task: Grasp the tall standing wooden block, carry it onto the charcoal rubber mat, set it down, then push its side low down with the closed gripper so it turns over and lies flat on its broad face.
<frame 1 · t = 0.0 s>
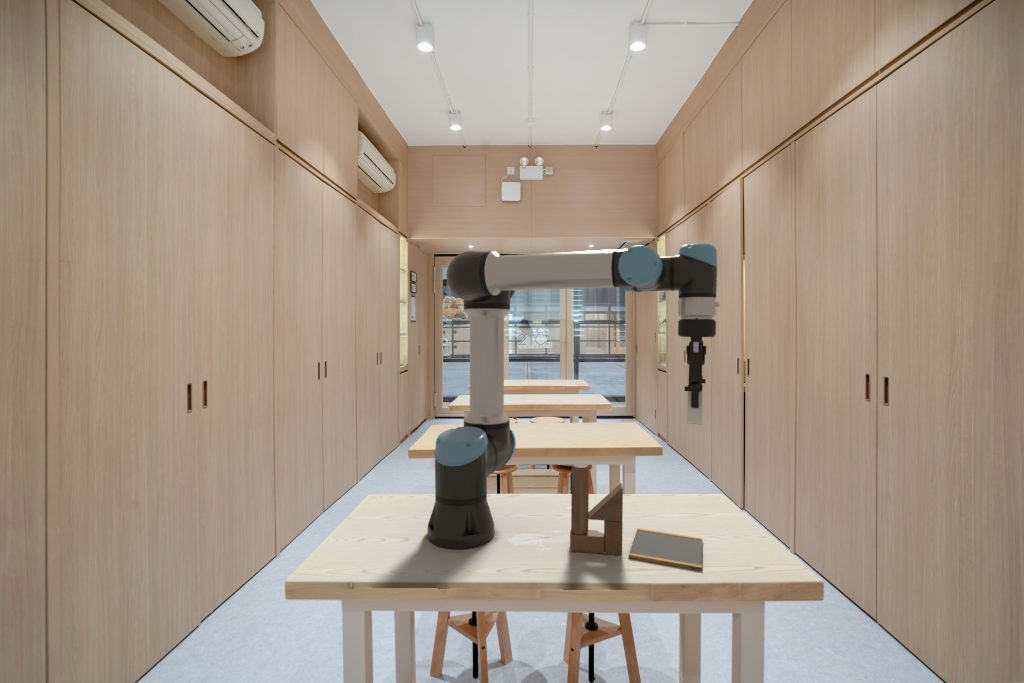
hand: (695, 417, 104), 28 cm above the table, fingers open, 13 cm apart
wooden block: (595, 551, 103), on the table
mat: (666, 549, 104), on the table
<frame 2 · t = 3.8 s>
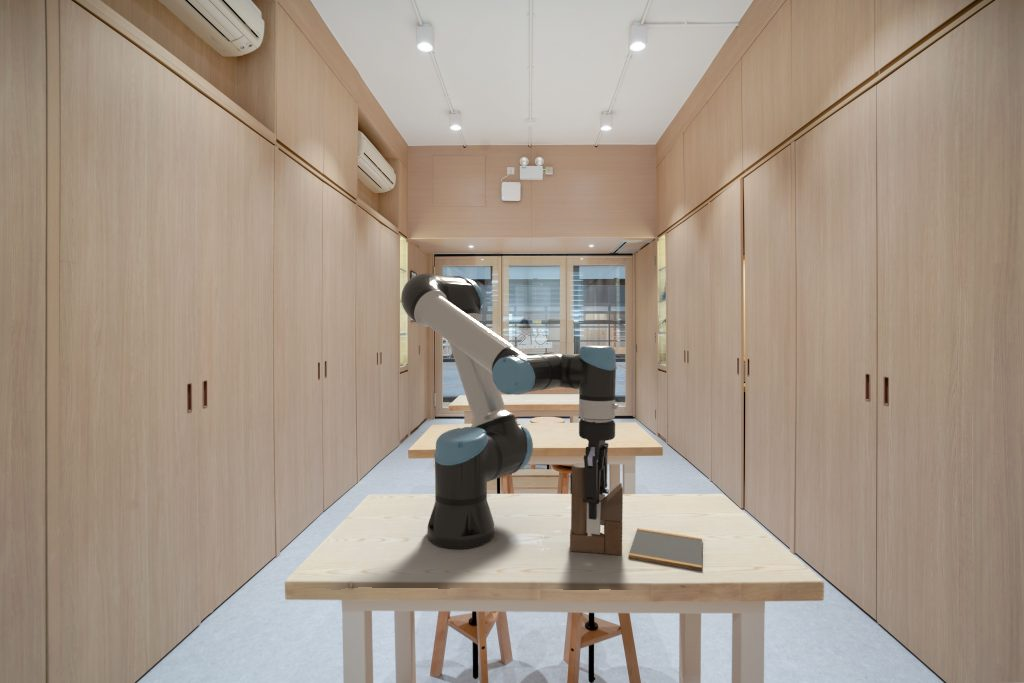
hand: (595, 528, 103), 5 cm above the table, fingers closed on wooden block, 4 cm apart
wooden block: (595, 550, 103), on the table, touching gripper
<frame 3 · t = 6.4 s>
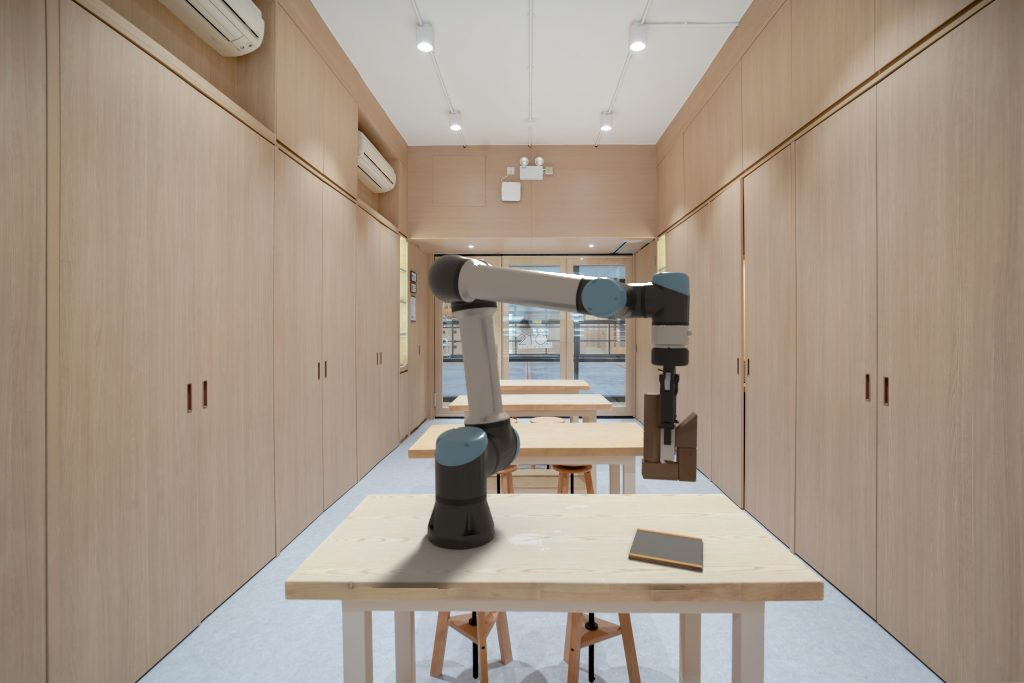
hand: (668, 456, 103), 20 cm above the table, fingers closed on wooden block, 4 cm apart
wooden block: (668, 479, 103), point 15 cm above the table, touching gripper
when the fingers open (6 cm above the table, at t = 9.1 s): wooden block stays where it is, resting on mat.
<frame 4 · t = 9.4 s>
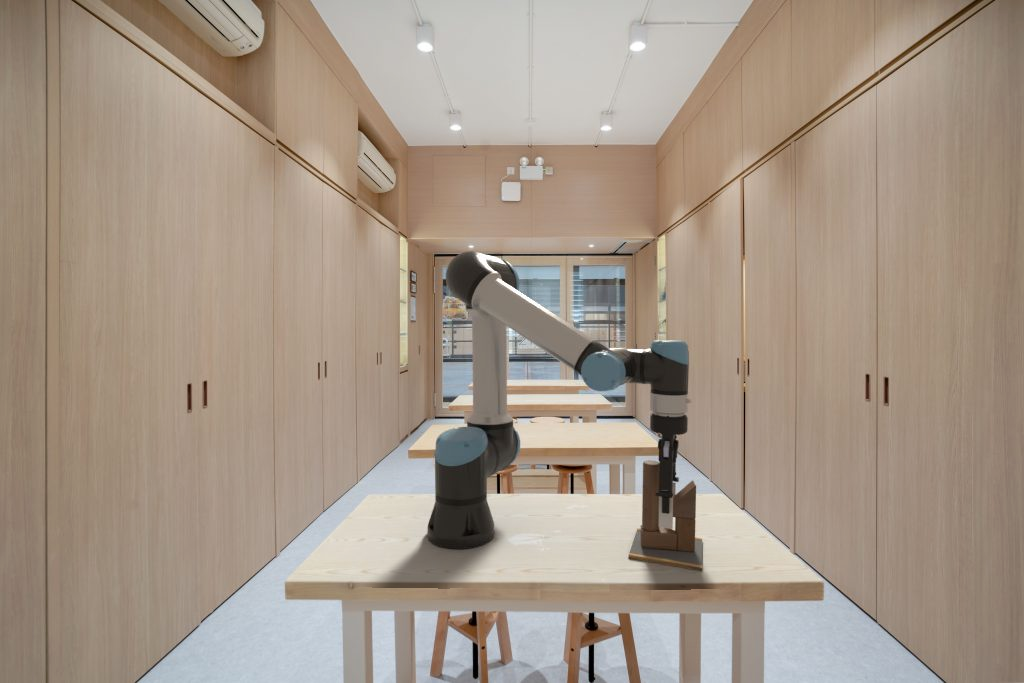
hand: (667, 519, 103), 7 cm above the table, fingers open, 8 cm apart
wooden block: (667, 547, 103), resting on mat
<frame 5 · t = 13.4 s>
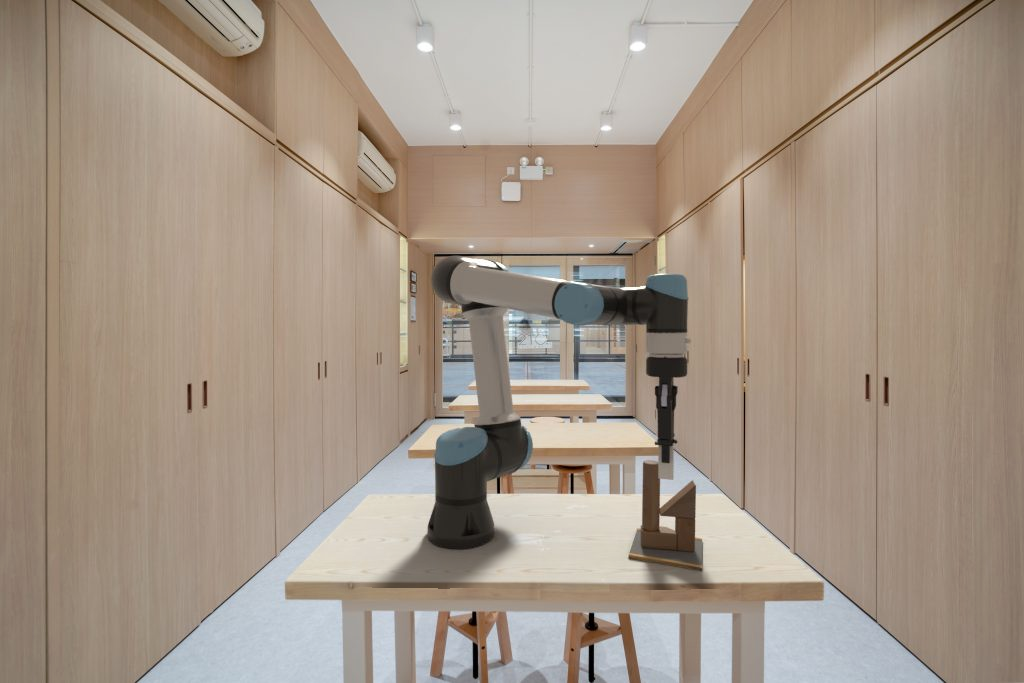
hand: (665, 477, 93), 18 cm above the table, fingers closed
nothing on the table moved.
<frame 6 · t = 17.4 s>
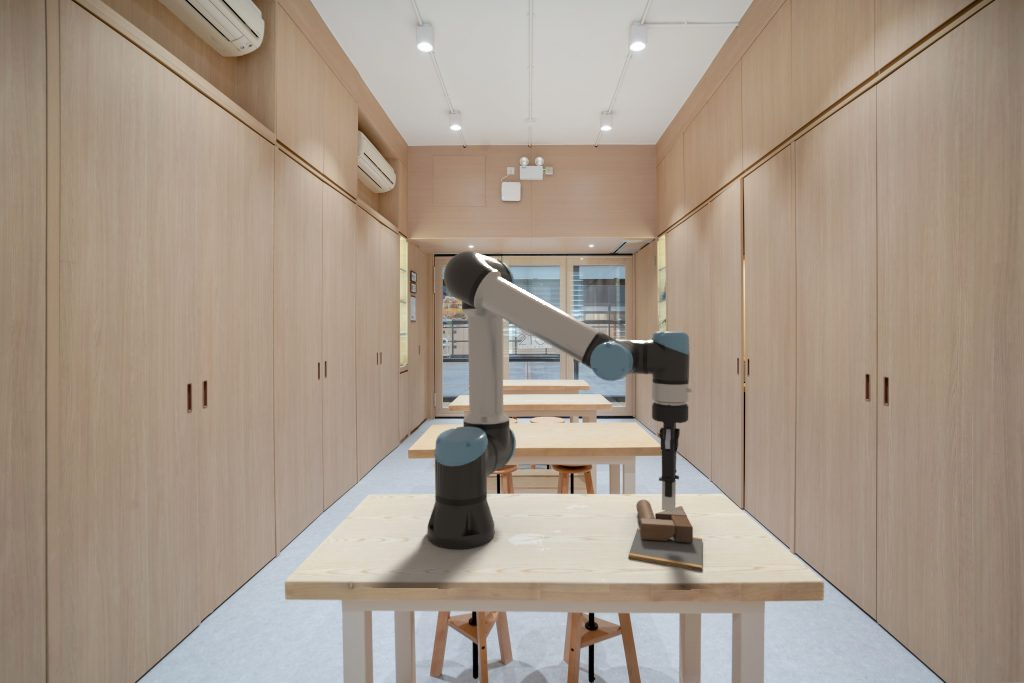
hand: (668, 509, 106), 7 cm above the table, fingers closed
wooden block: (667, 533, 105), point 3 cm above the table, touching mat
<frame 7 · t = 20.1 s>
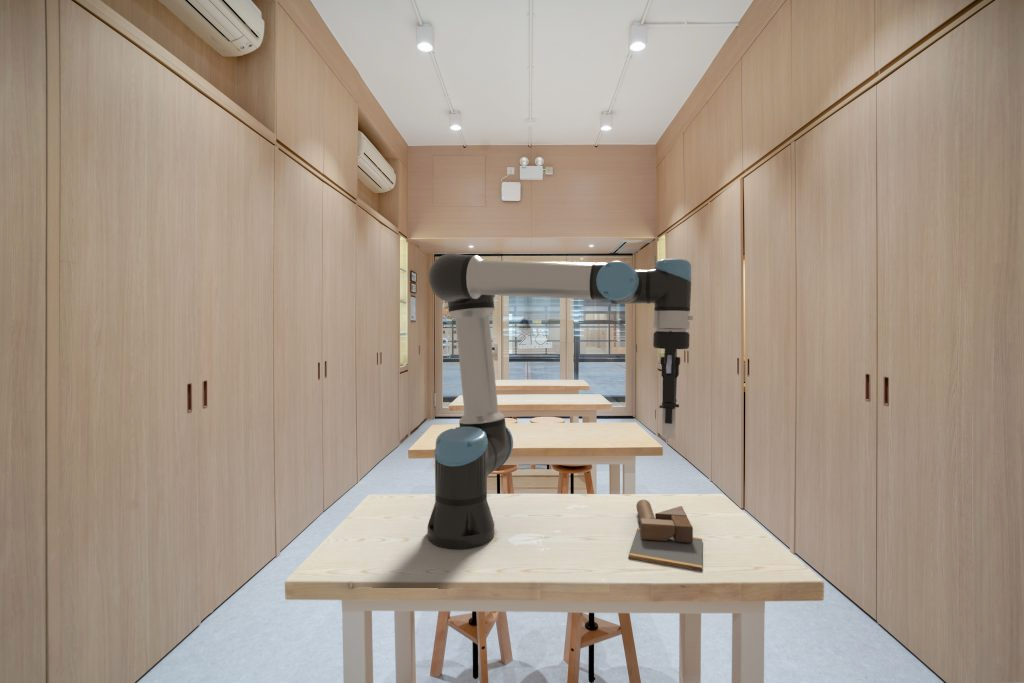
hand: (668, 437, 108), 23 cm above the table, fingers closed
nothing on the table moved.
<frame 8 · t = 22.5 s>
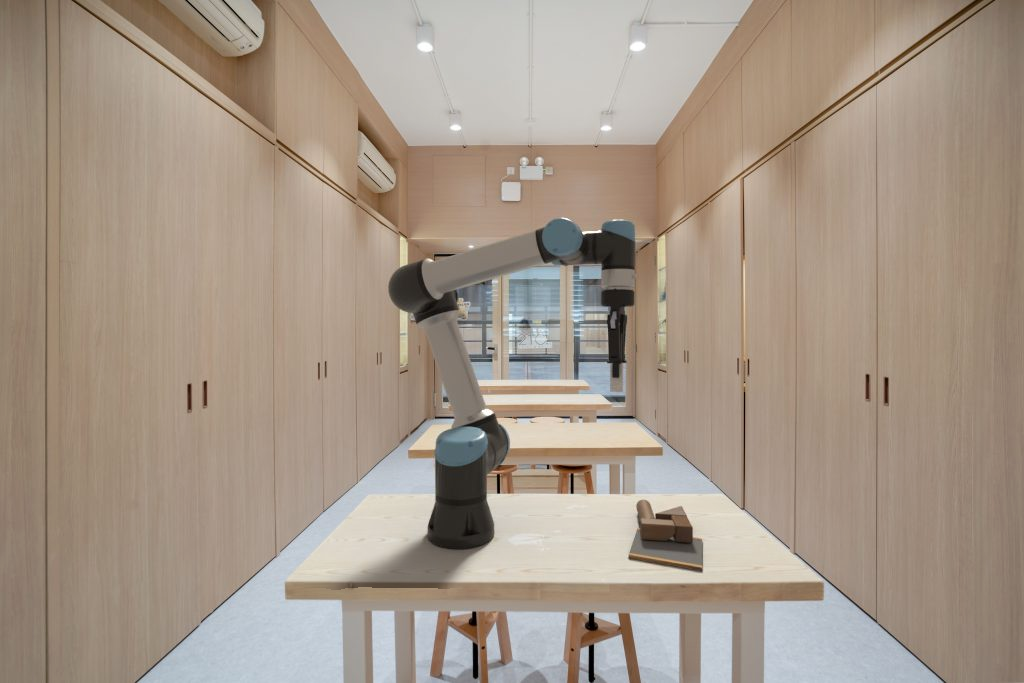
hand: (616, 391, 112), 32 cm above the table, fingers closed
nothing on the table moved.
at the end: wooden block tilted 93°; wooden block inside the target area on the mat (6.4 cm from its centre), point 2.7 cm above the mat's base; the gripper is holding nothing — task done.
